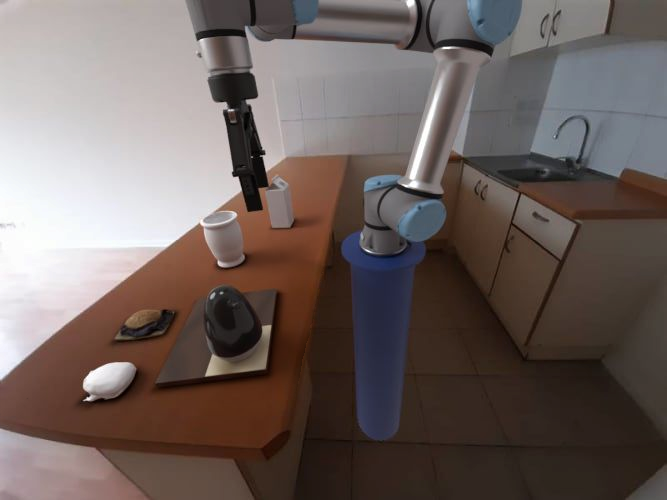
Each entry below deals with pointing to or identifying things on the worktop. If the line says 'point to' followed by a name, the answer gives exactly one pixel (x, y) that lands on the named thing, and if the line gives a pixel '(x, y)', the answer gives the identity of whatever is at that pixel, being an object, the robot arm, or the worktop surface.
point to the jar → (224, 237)
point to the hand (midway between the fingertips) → (259, 197)
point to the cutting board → (202, 366)
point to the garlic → (109, 380)
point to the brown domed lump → (145, 324)
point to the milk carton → (279, 203)
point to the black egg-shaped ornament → (230, 324)
